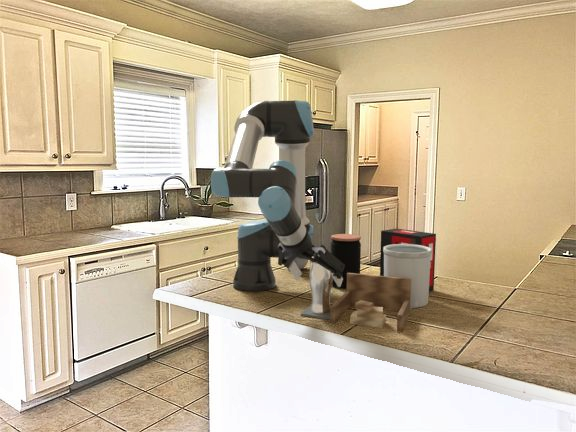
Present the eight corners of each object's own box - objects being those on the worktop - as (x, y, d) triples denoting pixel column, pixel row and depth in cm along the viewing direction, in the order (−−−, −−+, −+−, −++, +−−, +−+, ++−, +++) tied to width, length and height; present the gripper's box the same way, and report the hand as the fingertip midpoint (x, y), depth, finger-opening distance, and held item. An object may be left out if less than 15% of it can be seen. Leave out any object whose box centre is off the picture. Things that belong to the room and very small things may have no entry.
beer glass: (334, 308, 142) (335, 259, 140) (329, 316, 135) (329, 264, 133) (312, 306, 144) (312, 258, 142) (305, 313, 138) (306, 262, 136)
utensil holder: (403, 311, 141) (405, 254, 139) (372, 298, 155) (373, 245, 152) (439, 304, 148) (442, 249, 146) (407, 292, 161) (409, 242, 159)
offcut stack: (349, 323, 131) (350, 303, 130) (354, 318, 135) (354, 298, 135) (382, 328, 127) (383, 307, 127) (385, 322, 132) (386, 301, 132)
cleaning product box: (433, 290, 164) (435, 233, 162) (418, 295, 159) (421, 236, 156) (394, 281, 177) (396, 228, 175) (379, 285, 171) (381, 230, 169)
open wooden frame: (330, 322, 132) (331, 287, 130) (347, 303, 149) (347, 272, 148) (401, 332, 125) (402, 295, 123) (410, 311, 142) (411, 278, 141)
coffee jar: (359, 281, 176) (360, 234, 173) (360, 289, 165) (361, 238, 163) (330, 281, 177) (331, 233, 174) (330, 288, 166) (330, 238, 164)
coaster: (300, 315, 137) (300, 313, 137) (310, 306, 146) (310, 304, 146) (330, 319, 134) (330, 317, 134) (338, 310, 142) (338, 308, 142)
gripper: (248, 242, 127) (278, 284, 142) (332, 251, 115) (355, 297, 129) (259, 221, 131) (287, 264, 146) (341, 227, 119) (363, 274, 133)
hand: (319, 279), depth 138 cm, fingers open, 13 cm apart
